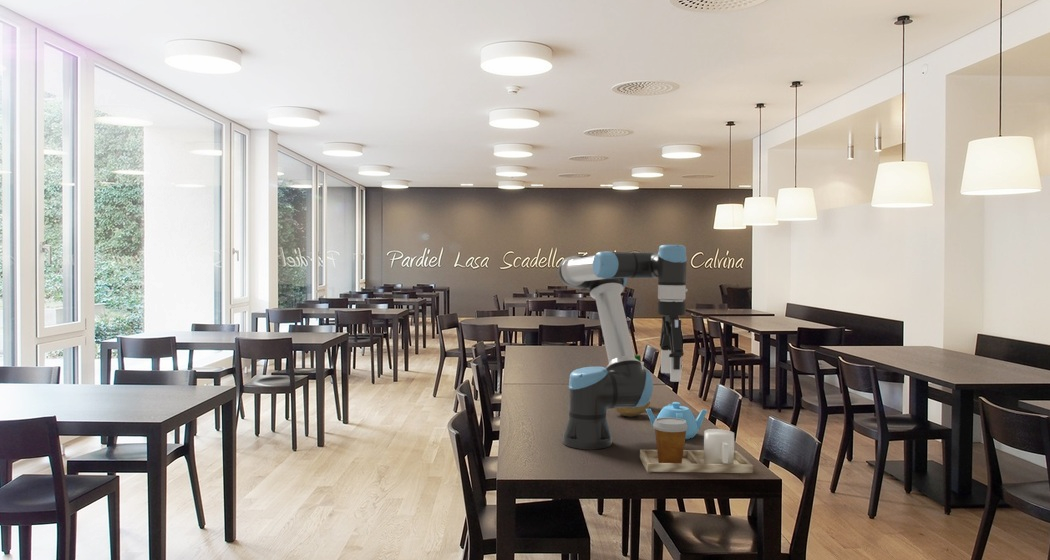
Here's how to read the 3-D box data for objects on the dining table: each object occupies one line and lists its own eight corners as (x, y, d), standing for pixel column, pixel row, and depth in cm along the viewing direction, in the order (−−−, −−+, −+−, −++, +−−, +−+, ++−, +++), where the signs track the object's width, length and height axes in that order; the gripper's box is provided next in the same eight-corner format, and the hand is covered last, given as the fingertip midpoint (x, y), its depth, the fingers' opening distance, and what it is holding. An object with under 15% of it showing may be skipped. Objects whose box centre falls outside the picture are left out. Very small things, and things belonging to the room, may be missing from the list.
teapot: (642, 434, 221) (642, 401, 220) (669, 427, 231) (670, 396, 230) (680, 443, 209) (681, 409, 209) (708, 435, 219) (708, 403, 219)
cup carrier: (647, 473, 179) (647, 464, 179) (639, 458, 193) (639, 449, 193) (753, 474, 178) (753, 465, 178) (737, 459, 192) (737, 450, 192)
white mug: (710, 472, 179) (711, 438, 178) (700, 460, 189) (701, 428, 189) (740, 472, 178) (741, 439, 178) (729, 460, 189) (729, 429, 189)
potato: (652, 418, 242) (652, 397, 242) (614, 418, 242) (614, 396, 242) (646, 413, 252) (647, 391, 252) (609, 412, 252) (610, 391, 252)
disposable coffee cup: (682, 458, 191) (682, 416, 190) (692, 468, 181) (692, 424, 181) (649, 459, 190) (649, 417, 190) (657, 469, 181) (657, 424, 181)
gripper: (695, 303, 172) (694, 385, 173) (676, 298, 197) (674, 369, 198) (666, 303, 172) (665, 385, 173) (650, 298, 197) (649, 369, 198)
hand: (670, 377), depth 185 cm, fingers open, 13 cm apart
